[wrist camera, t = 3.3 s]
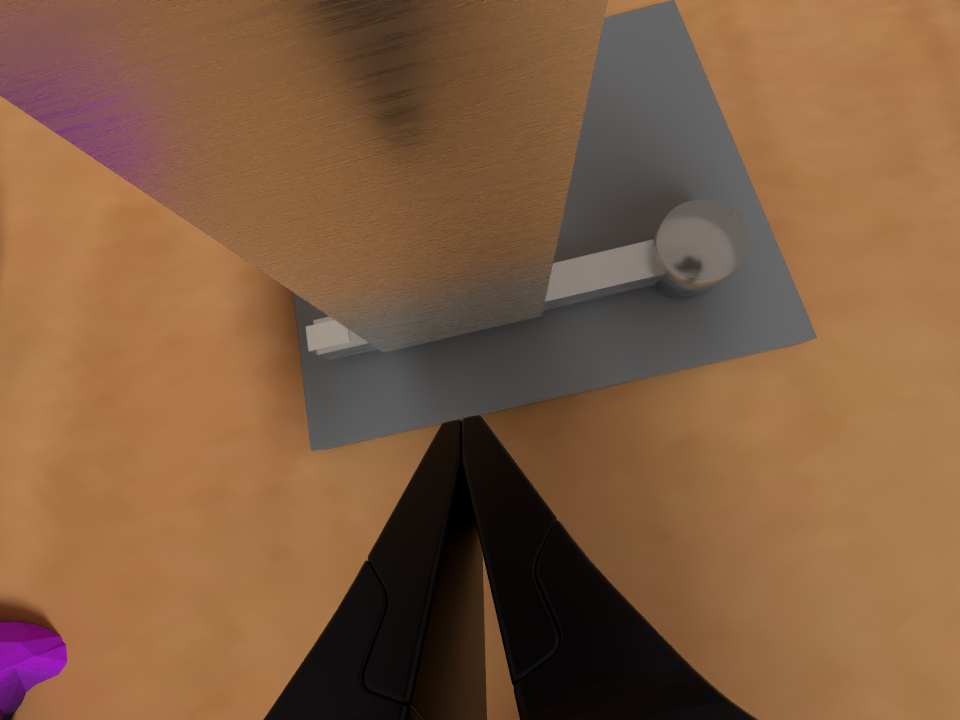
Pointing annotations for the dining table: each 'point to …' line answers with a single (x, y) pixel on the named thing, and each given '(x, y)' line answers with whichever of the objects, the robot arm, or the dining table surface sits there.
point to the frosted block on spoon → (358, 149)
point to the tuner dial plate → (587, 230)
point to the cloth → (26, 661)
